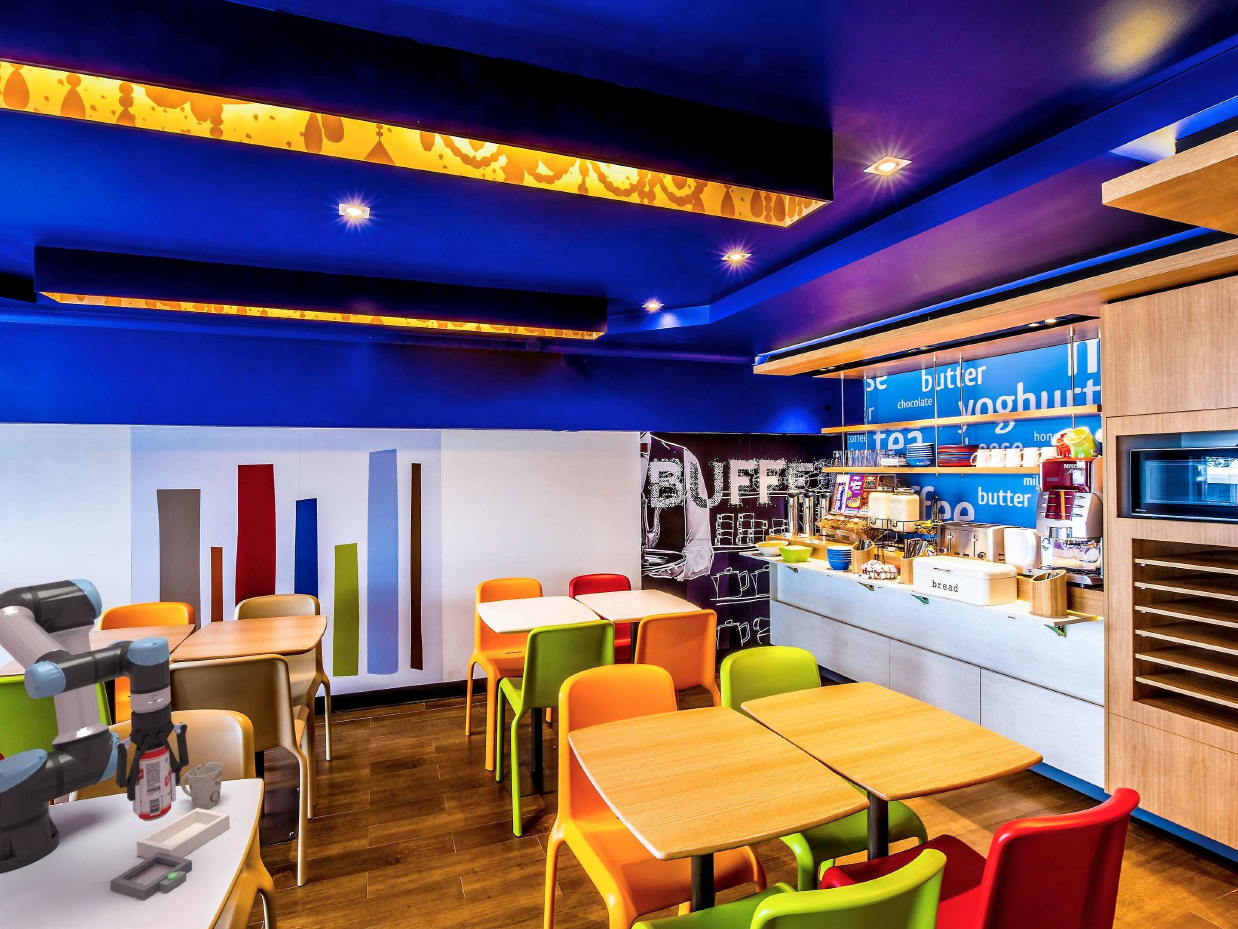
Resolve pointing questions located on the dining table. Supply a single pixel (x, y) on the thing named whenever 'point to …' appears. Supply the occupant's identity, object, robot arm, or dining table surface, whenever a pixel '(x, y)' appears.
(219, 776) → the mug
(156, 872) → the plate
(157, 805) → the beer can
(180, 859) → the frame
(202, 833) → the cream rectangular tray
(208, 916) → the dining table surface
